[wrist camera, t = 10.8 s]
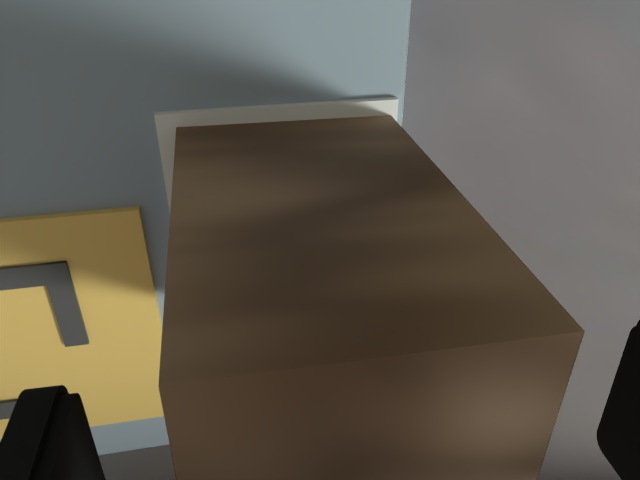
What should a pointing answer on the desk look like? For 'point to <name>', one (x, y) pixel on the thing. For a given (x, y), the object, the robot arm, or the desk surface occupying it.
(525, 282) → the walnut block
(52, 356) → the board
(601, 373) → the desk surface
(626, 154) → the desk surface
